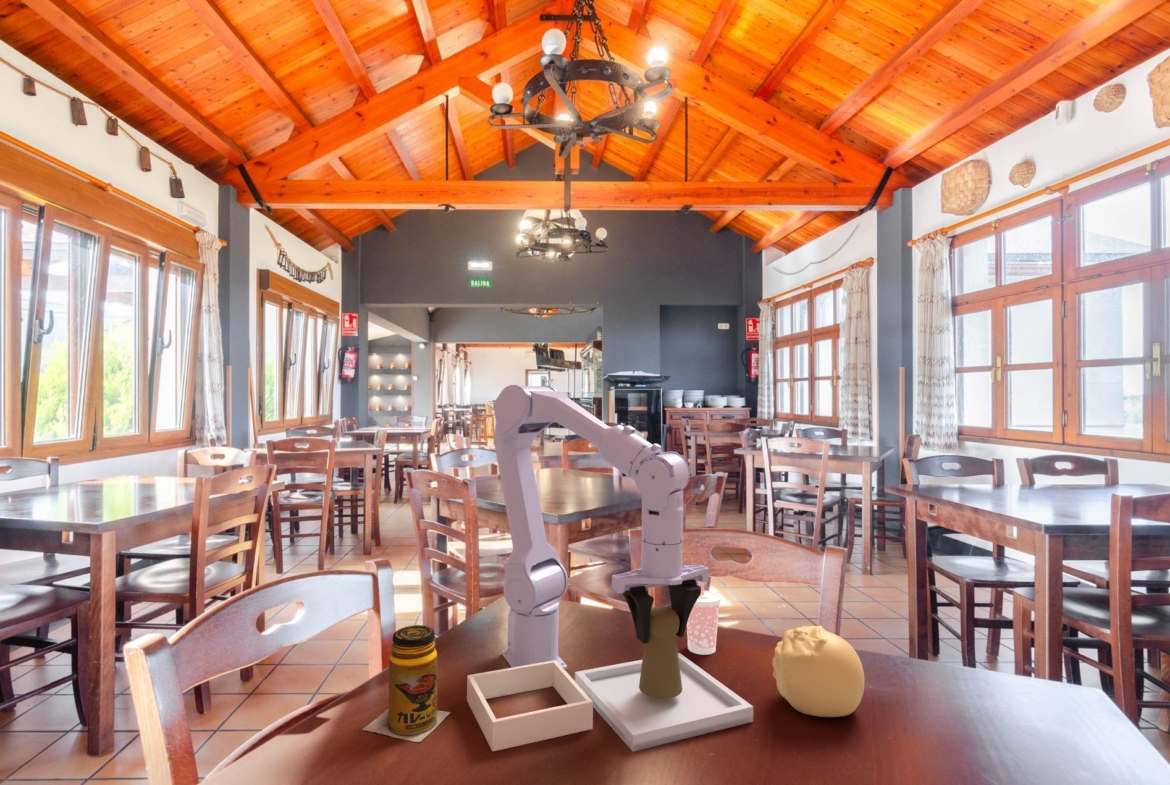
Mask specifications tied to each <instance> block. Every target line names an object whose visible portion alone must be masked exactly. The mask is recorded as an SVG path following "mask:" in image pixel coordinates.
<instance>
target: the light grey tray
mask: <svg viewBox="0 0 1170 785" xmlns="http://www.w3.org/2000/svg"><path fill="white" fill-rule="evenodd" d="M678 658H679V666H680V674H681V682H682V692H681V693H680V695H678V696H676V697H673V698H669V699H659V698H653V697H649V696H647V695H645V694H643V693H642V692H641V691H640V689H639V682H640V675H641V667H642V660H643V659H639V660H634V661H627V662H621V663H617V664H612V665H611V664H610V665H606V666H605V665H604V666H599V667H594V668H590V669H589V668H588V669H583V670H578V671H575V672H574V681H575V682H576V683H577V684H578V685H579V687H580V688H581V689H582V690H583V691H584V692H585V693H586V694H587V695H588V697H589V698H590V699H591V700H592V701H593V709H595V711H596V712H597V713H598V714H599V715H600V716H601V718H603V720H604V721H605V722H606V723H607V725H609V726H610V728H612V730H613V731H614V732H615V734H616V735H618V737H620V739H621V740H622V741H623V742H624V743H625V744H626V746H627V747H628V748H629V749H630V750H631V751H632V752H638V751H641V750H645V749H649V748H653V747H657V746H661V745H665V744H670V743H673V742H678V741H681V740H684V739H688V738H689V739H690V738H693V737H696V736H701V735H706V734H708V733H709V734H710V733H714V732H717V731H721V730H725V729H729V728H733V727H737V726H742V725H745V724H746V725H747V724H750V723H753V722H754V706H753V705H752V704H750V703H749V702H748V701H747V700H745V699H743V698H742V697H741V696H739V694H736V693H735V692H734V691H733V690H731V689H730V688H728V687H727V686H726V685H724V684H723V683H722V682H720V681H719V680H717V679H716V678H714V677H713V676H712V675H710V674H709V673H708V672H707V671H705V670H704V669H702V668H701V667H700V666H698V665H697V664H696V663H694V662H693V661H692V660H690V659H689V658H687V657H686V656H684V655H683V654H682V653H680V652H678Z"/></svg>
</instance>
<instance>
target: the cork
mask: <svg viewBox="0 0 1170 785" xmlns="http://www.w3.org/2000/svg"><path fill="white" fill-rule="evenodd" d="M679 625H680V620H679V616H678V615H677V613H676V612H675V611H674V610H672V609H671V607H666V606H652V608H651V613H650V622H649V641H648V643H644V647H643V652H642V653H643V654H642V659H641V660H642V667H641V675H640V682H639V689H640V691H641V692H642V693H643V694H645V695H647V696H649V697H653V698H659V699H669V698H673V697H676V696H678V695H680V693H681V692H682V682H681V674H680V666H679V658H678V653H679V652H678V644H677V643H678V642H677V635H676V633H677V632H678V630H679Z"/></svg>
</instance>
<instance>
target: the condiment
mask: <svg viewBox="0 0 1170 785" xmlns="http://www.w3.org/2000/svg"><path fill="white" fill-rule="evenodd" d="M435 634H436V633H435V632H434V629H433V628H431V627H430V626H427V625H421V624H420V625H419V624H414V625H407V626H404V627H402V628H399V629H397V630H396V631H395V632H394V633H393V634H392V639H391V640H392V646H391V650H392V652H391V653H390V655H389V660H388V663H389V664H388V665H389V667H388V702H387V703H388V708H387V709H386V710H385V711H384V712H382V713H381V714H380V715H379V716H377V718H375V719H373V720H372V721H371V722H370V723H369V724H368V725H366V726H365V727H363V728H362V731H365V732H366V731H367V732H370V733H377V734H379V735H384V736H388V737H391V738H396V739H401V740H405V741H410V742H414V743H420V742H422V741H423V740H424V739H425V738H427V737H428V736H429V735H430V734H431V733H432V732H433V731H434V730H435V729H436V728H437V727H438V726H439V725H440V724H441V723H442V722H443V721H444V720H445V719H446V717H448V716H449V714H451V712H450V711H443V710H438V691H439V690H438V681H439V680H438V669H439V667H438V666H439V663H438V660H439V658H438V652H437V650H436V648H435V647H436V641H435V636H436V635H435Z"/></svg>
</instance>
